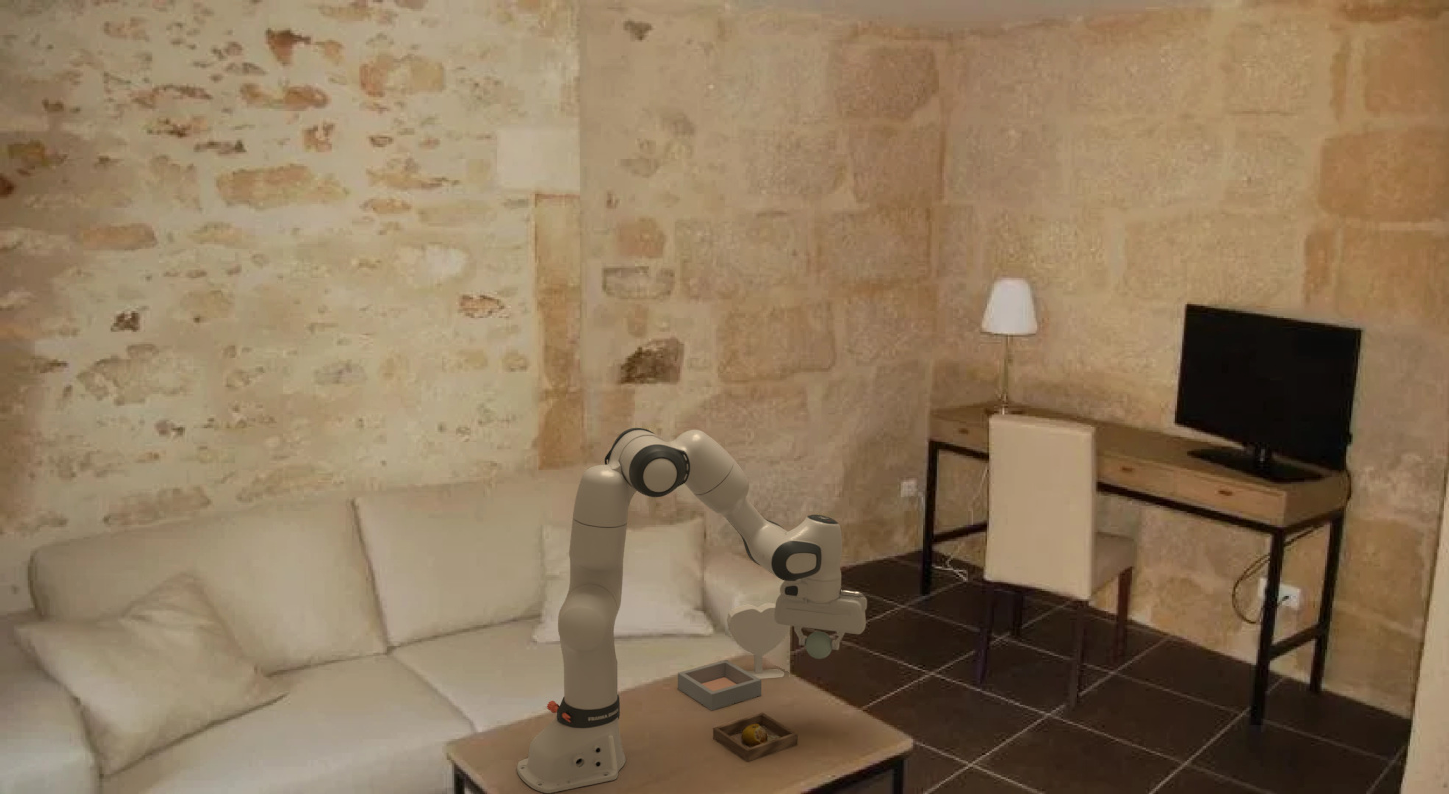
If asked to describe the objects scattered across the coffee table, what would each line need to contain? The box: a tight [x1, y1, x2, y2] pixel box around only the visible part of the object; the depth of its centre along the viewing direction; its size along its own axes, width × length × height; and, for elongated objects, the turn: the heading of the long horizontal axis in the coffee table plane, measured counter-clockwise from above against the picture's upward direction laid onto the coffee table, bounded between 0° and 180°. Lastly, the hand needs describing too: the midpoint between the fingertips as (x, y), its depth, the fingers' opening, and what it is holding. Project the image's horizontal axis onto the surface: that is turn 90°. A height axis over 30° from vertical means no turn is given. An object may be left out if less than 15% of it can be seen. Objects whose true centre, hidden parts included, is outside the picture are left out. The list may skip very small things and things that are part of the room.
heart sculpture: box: [726, 602, 791, 680], centre depth 279 cm, size 16×5×18 cm, turn 102°
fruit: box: [740, 724, 781, 747], centre depth 245 cm, size 8×8×4 cm
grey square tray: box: [677, 659, 762, 711], centre depth 270 cm, size 14×14×4 cm
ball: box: [805, 630, 833, 660], centre depth 250 cm, size 6×6×6 cm
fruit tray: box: [712, 712, 799, 763], centre depth 245 cm, size 14×13×2 cm
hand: (818, 646), depth 250 cm, fingers closed on ball, 6 cm apart
